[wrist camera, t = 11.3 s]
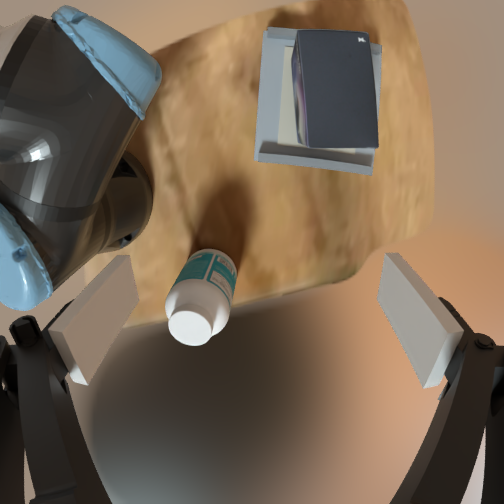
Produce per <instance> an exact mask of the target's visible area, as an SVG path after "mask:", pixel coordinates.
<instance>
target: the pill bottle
mask: <svg viewBox="0 0 504 504" xmlns="http://www.w3.org/2000/svg"><path fill="white" fill-rule="evenodd" d="M236 279H237V271H236V267H235V265H234V263H233V261H232V260H231V259H230V258H229V257H228V256H227V255H226V254H225V253H223V252H221V251H218V250H215V249H203V250H200V251H197V252H195V253H194V254H193V255H192V256H191V257H190V258H189V259H188V260H187V262H186V264H185V265H184V267H183V269H182V271H181V272H180V274H179V276H178V278H177V279H176V281H175V283H174V285H173V286H172V288H171V290H170V292H169V294H168V296H167V298H166V303H165V309H166V314H167V317H168V319H169V324H168V325H169V330H170V332H171V334H172V335H173V336H174V337H175V338H176V339H177V340H178V341H180V342H182V343H184V344H187V345H193V346H196V345H201V344H204V343H206V342H207V341H208V340H209V339H210V337H211V336H213V335H215V334H217V333H218V332H220V331H221V330H222V329H223V328H224V326H225V325H226V323H227V321H228V318H229V313H230V309H231V304H232V299H233V294H234V289H235V284H236Z"/></svg>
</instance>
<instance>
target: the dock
mask: <svg viewBox="0 0 504 504" xmlns="http://www.w3.org/2000/svg"><path fill="white" fill-rule="evenodd" d="M297 30H298V29H290V28H279V27H268V31H264V33H263V46H262V59H261V72H260V85H259V99H258V112H257V126H256V139H255V153H254V160H256V161H258V162H266V163H277V164H288V165H297V166H306V167H315V168H323V169H331V170H338V171H345V172H352V173H359V174H365V175H371V176H372V172H373V162H374V154H375V149H370V148H308V147H306V146H304V145H302V144H299V143H298V141H297V132H296V120H295V108H294V96H293V83H292V70H291V57H292V53H293V48H294V44H295V39H296V35H297ZM370 46H371V53H372V60H373V69H374V78H375V89H376V101H377V117H378V114H379V100H380V83H381V53H382V45H379V44H375V43H371V42H370Z"/></svg>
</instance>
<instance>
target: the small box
mask: <svg viewBox="0 0 504 504" xmlns="http://www.w3.org/2000/svg"><path fill="white" fill-rule="evenodd" d="M291 70H292V83H293V96H294V108H295V120H296V132H297V141H298V143H299V144H302V145H304V146H306V147H308V148H370V149H376V148H378V147H379V144H378V117H377V101H376V89H375V78H374V69H373V60H372V53H371V46H370V39H369V34H368V33H367V32H360V31H348V30H330V29H298V30H297V35H296V39H295V44H294V48H293V53H292V57H291Z"/></svg>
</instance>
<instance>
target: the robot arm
mask: <svg viewBox="0 0 504 504" xmlns="http://www.w3.org/2000/svg"><path fill="white" fill-rule="evenodd" d="M51 17H52V20H51V19H46V18H43V17H39V16H36V15H33V14H31V15H29V16H27V17H25V18H23V19H21V20H20V21H18V22H16V23H14V24H12V25H10V26H7V27H2V26H0V302H1V303H3V304H4V305H6V306H8V307H9V308H12V309H14V310H23V311H27V310H30V309H32V308H34V307H35V306H37V305H38V304H39V303H41V302H42V301H44V300H45V299H48V298H49V297H50V296H51V295H52V293H53V292H54V291H55V290H56V289H57V288H58V287H59V286H60V285H61V284H62V283H64V282H65V281H66V280H67V279H68V278H69V277H70V276H71V275H73V274H74V273H75V272H76V271H77V270H78V269H80V268H81V267H82V266H83V265H84V264H85V263H87V262H88V261H89V260H90V259H91V258H93V257H94V256H95V255H96V254H100V253H106V252H111V251H116V250H119V249H122V248H124V247H126V246H127V245H129V244H130V243H131V242H132V241H134V240H135V239H136V238H137V237H138V236H139V235H140V234H141V233H142V232H143V230H144V229H145V227H146V225H147V223H148V221H149V218H150V215H151V210H152V190H151V186H150V182H149V179H148V176H147V174H146V172H145V170H144V168H143V167H142V165H141V164H140V163H139V161H138V160H137V159H136V158H135V157H134V156H133V155H131V154H130V153H129V152H127V151H126V150H125V149H126V147H127V145H128V143H129V142H130V140H131V138H132V136H133V134H134V132H135V131H136V129H137V127H138V125H139V123H140V122H141V120H144V118H145V116H146V115H145V112H146V110H147V108H148V106H149V104H150V102H151V100H152V98H153V97H154V95H155V93H156V91H157V89H158V88H159V86H160V84H161V80H162V70H161V67H160V65H159V64H158V62H157V61H156V60H155V59H154V58H153V57H152V56H151V55H150V54H149V53H147V52H146V51H145V50H144V49H142V48H141V47H140V46H138V45H137V44H136V43H134V42H133V41H131V40H130V39H129V38H127V37H126V36H124V35H123V34H121V33H120V32H118V31H116V30H115V29H113V28H112V27H110V26H108V25H107V24H105V23H103V22H102V21H100V20H98V19H96V18H94V17H92V16H88V14H86V13H83V12H81V11H79V10H78V9H76V8H74V7H71V6H66V5H65V6H62V7H60V8H59V9H58V10H57V11H55V12H54V13H53V14H52V16H51ZM377 301H378V302H379V304H380V306H381V308H382V309H383V311H384V313H385V315H386V317H387V318H388V320H389V322H390V324H391V326H392V328H393V330H394V331H395V333H396V335H397V337H398V339H399V341H400V343H401V345H402V346H403V349H404V350H405V353H406V354H407V356H408V358H409V360H410V362H411V364H412V366H413V369H414V371H415V372H416V375H417V377H418V379H419V381H420V383H421V385H422V387H423V388H428V387H433V386H437V385H439V383H440V382H441V380H442V378H443V376H444V375H445V376H446V378H447V380H448V382H447V384H446V386H445V387H444V389H443V391H442V393H441V394H440V396H439V398H438V400H440V402H439V404H438V407H437V410H436V413H435V415H434V417H433V420H432V422H431V425H430V427H429V429H428V432H427V434H426V436H425V439H424V441H423V443H422V445H421V447H420V449H419V451H418V454H417V455H416V457H415V459H414V461H413V463H412V466H411V467H410V469H409V471H408V473H407V475H406V477H405V478H404V480H403V482H402V484H401V485H400V487H399V489H398V491H397V492H396V494H395V496H394V497H393V499H392V501H391V502H390V504H460V503H461V501H462V499H463V496H464V493H465V491H466V488H467V486H468V483H469V480H470V477H471V474H472V472H473V468H474V465H475V462H476V459H477V456H478V452H479V449H480V445H481V441H482V437H483V433H484V428H486V446H485V447H486V448H485V469H484V481H483V491H482V499H481V504H504V346H497V345H496V344H495V342H494V341H493V340H492V339H491V338H490V337H489V336H487V335H485V334H481V333H474V332H473V330H472V329H471V328H470V327H469V325H468V324H467V323H466V322H465V321H464V319H463V318H462V317H460V314H459V313H458V312H457V311H456V309H455V308H454V307H453V306H452V305H451V304H450V303H449V302H448V301H446V300H445V299H443V298H442V297H437V296H436V295H435V294H434V293H433V291H432V290H431V289H430V288H429V287H428V286H427V284H426V283H425V282H424V281H423V280H422V279H421V278H420V276H419V275H418V274H417V273H416V272H415V271H414V270H413V269H412V267H411V266H410V265H409V264H408V263H407V262H406V261H405V260H404V259H403V258H402V256H401V255H400V254H399V253H385V257H384V263H383V269H382V274H381V280H380V286H379V290H378V296H377ZM138 302H139V296H138V292H137V288H136V283H135V279H134V274H133V270H132V265H131V260H130V255H117V256H116V257H115V258H114V259H113V260H112V261H111V262H110V263H109V264H108V265H107V266H106V267H105V268H104V269H103V270H102V271H101V272H100V273H99V274H98V275H97V276H96V277H95V278H94V279H93V280H92V281H91V282H90V283H89V285H88V286H87V287H86V288H85V289H84V290H83V291H82V292H81V293H80V294H79V295H78V296H77V297H76V298H75V299H73V300H72V301H70V302H69V303H67V304H66V305H65V306H64V307H63V308H62V309H61V310H60V312H59V313H57V315H56V316H55V318H53V319H52V320H51V321H50V322H49V323H48V325H47V326H46V327H45V328H44V329H43V330H42V332H41V330H40V328H39V326H38V324H37V321H36V319H35V317H33V316H29V315H27V316H23V317H20V318H18V319H17V320H15V321H14V322H13V323H12V324H11V325H10V328H9V330H10V333H11V335H12V337H13V339H14V341H15V343H16V345H9V344H8V342H7V340H6V338H5V337H4V336H2V335H1V336H0V504H25V499H24V452H25V451H26V456H27V461H28V465H29V470H30V474H31V479H32V483H33V487H34V490H35V495H36V496H35V498H34V499H32V500H30V503H29V504H112V502H111V500H110V498H109V497H108V494H107V492H106V490H105V488H104V486H103V484H102V481H101V479H100V477H99V475H98V472H97V470H96V468H95V465H94V463H93V460H92V458H91V455H90V453H89V450H88V448H87V445H86V442H85V439H84V437H83V434H82V431H81V428H80V425H79V422H78V418H77V415H76V412H75V409H74V405H73V402H72V398H71V395H70V391H69V387H68V383H67V382H66V380H65V376H66V375H67V373H68V372H69V374H70V376H71V378H72V380H73V381H74V382H77V383H80V384H85V385H88V384H89V383H90V380H91V379H92V377H93V376H94V374H95V372H96V370H97V369H98V367H99V365H100V363H101V362H102V360H103V358H104V357H105V355H106V353H107V351H108V350H109V348H110V346H111V345H112V343H113V341H114V340H115V338H116V337H117V335H118V333H119V332H120V330H121V328H122V327H123V325H124V324H125V322H126V320H127V319H128V317H129V316H130V314H131V312H132V311H133V309H134V308H135V306H136V305H137V303H138ZM2 382H3V383H4V385H5V388H4V390H3V386H2Z"/></svg>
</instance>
